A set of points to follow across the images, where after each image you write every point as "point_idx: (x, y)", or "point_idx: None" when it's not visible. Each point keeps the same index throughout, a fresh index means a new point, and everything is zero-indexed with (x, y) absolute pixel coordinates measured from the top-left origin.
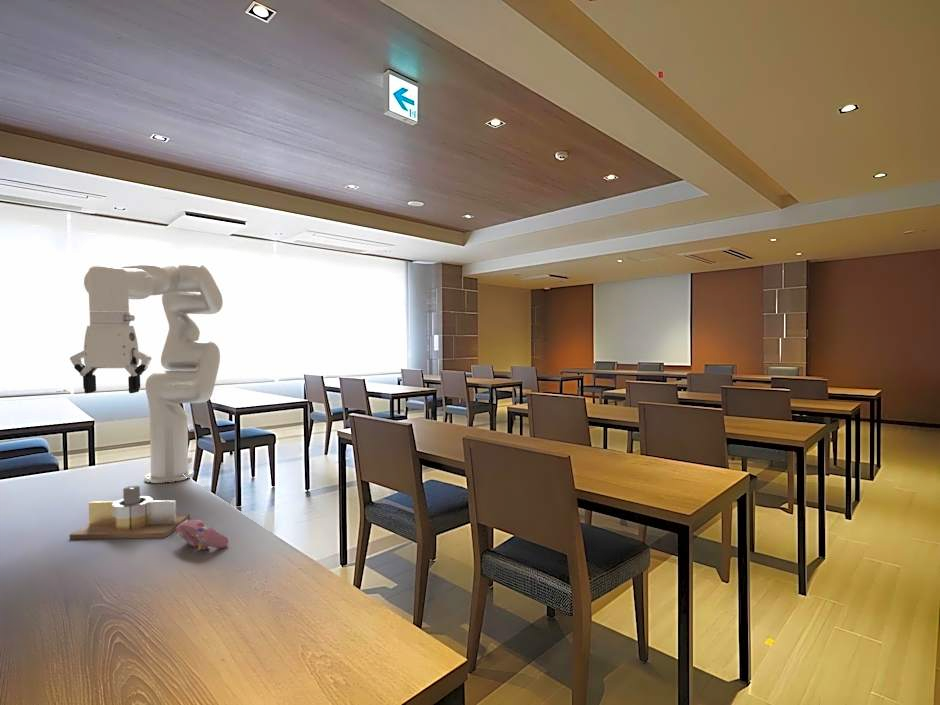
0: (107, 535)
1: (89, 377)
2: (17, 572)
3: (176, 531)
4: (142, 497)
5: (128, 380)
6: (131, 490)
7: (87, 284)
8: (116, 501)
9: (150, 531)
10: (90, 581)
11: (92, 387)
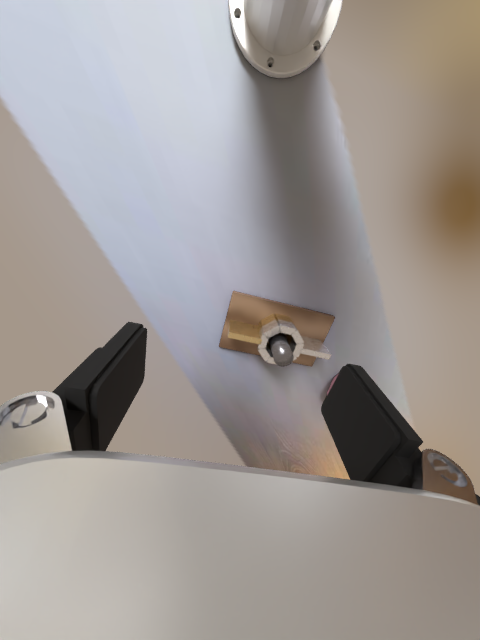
0: (256, 354)
1: (104, 440)
2: (209, 400)
3: (327, 394)
4: (289, 333)
5: (345, 467)
6: (285, 365)
7: None
8: (260, 341)
9: (297, 359)
10: (268, 425)
11: (135, 365)
